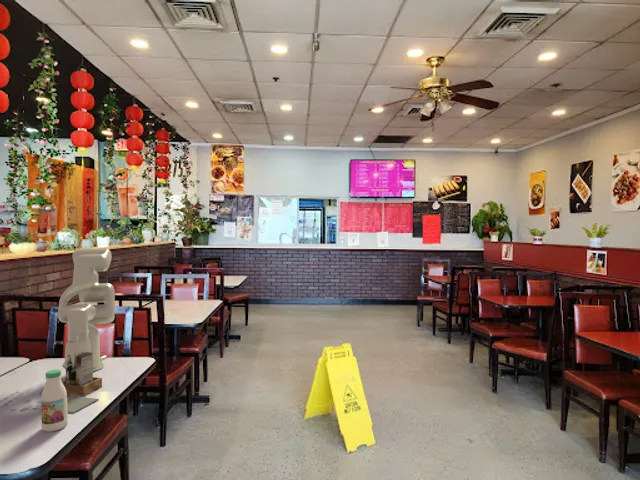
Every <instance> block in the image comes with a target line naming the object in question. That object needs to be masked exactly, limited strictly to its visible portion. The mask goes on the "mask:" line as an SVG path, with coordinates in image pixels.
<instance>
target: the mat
mask: <svg viewBox="0 0 640 480" xmlns="http://www.w3.org/2000/svg"><path fill="white" fill-rule="evenodd" d="M98 401H99V398H95V397H94V398H91V397H85V396H75V395H72V396H71V397H69V398H67V411H68V414H73V415H74V414H76V413H78V412H81V410H83V409H85V408H88V407H89V406H91V405H92V404H94V403H96V402H98Z"/></svg>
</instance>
